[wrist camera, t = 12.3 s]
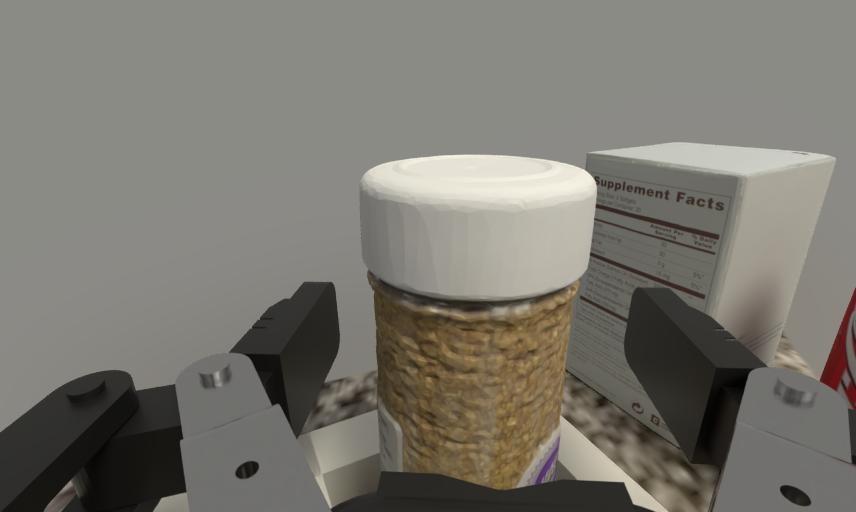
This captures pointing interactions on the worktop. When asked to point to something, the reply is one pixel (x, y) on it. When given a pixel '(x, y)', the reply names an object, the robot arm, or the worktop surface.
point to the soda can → (844, 358)
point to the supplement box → (692, 250)
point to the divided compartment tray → (360, 463)
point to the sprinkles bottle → (474, 310)
